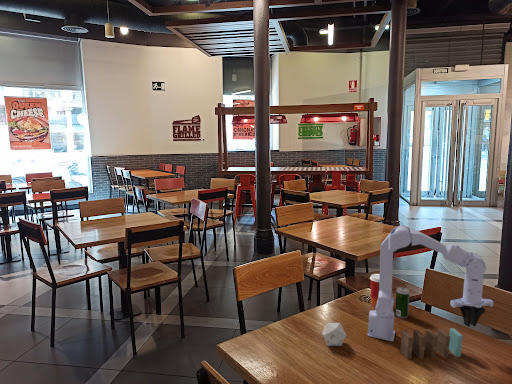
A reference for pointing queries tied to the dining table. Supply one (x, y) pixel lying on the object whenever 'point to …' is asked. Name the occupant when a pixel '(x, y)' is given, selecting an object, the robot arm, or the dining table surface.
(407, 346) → the domino
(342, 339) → the die
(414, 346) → the domino
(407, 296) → the beer can
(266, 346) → the dining table surface
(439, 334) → the domino
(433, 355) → the domino
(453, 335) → the domino
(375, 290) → the paper cup
